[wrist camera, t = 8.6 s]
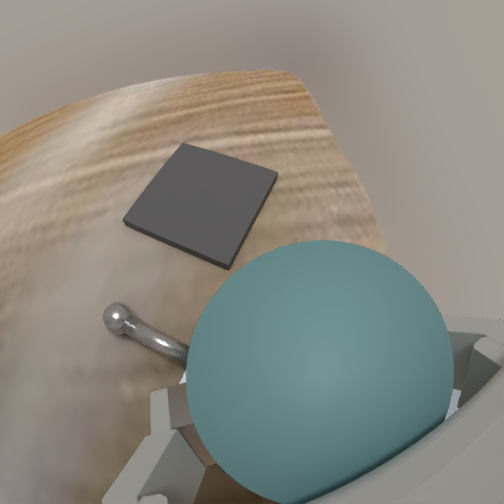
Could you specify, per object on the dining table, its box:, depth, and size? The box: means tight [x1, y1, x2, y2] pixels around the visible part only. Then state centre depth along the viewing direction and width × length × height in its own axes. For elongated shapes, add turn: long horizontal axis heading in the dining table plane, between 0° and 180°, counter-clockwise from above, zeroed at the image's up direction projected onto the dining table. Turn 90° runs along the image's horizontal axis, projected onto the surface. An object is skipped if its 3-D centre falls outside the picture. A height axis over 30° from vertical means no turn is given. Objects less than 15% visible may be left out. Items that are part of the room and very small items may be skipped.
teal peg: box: [186, 240, 454, 504], centre depth 8 cm, size 4×4×10 cm
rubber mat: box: [122, 143, 278, 270], centre depth 23 cm, size 9×9×1 cm
